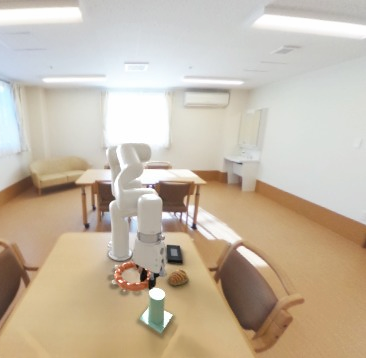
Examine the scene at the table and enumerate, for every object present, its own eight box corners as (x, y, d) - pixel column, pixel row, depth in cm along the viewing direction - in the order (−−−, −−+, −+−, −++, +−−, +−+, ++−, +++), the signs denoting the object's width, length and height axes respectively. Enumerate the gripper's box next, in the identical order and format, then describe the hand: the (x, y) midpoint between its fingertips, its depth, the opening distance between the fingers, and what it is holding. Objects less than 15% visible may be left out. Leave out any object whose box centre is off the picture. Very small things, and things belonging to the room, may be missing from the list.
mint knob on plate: (138, 321, 75) (139, 295, 73) (151, 305, 82) (152, 281, 80) (161, 336, 70) (162, 308, 67) (172, 317, 77) (174, 291, 74)
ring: (106, 280, 72) (106, 274, 71) (130, 261, 82) (130, 255, 81) (138, 299, 63) (138, 293, 63) (161, 275, 74) (161, 269, 73)
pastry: (176, 289, 90) (176, 282, 89) (164, 281, 95) (164, 274, 95) (189, 280, 96) (189, 273, 95) (177, 272, 101) (177, 265, 100)
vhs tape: (167, 262, 109) (167, 259, 108) (166, 247, 122) (166, 244, 122) (182, 263, 108) (182, 260, 107) (179, 248, 121) (179, 245, 121)
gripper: (178, 237, 63) (175, 289, 67) (135, 223, 73) (134, 269, 77) (166, 248, 57) (163, 304, 62) (121, 231, 67) (121, 280, 71)
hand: (147, 284), depth 69 cm, fingers closed on ring, 2 cm apart
